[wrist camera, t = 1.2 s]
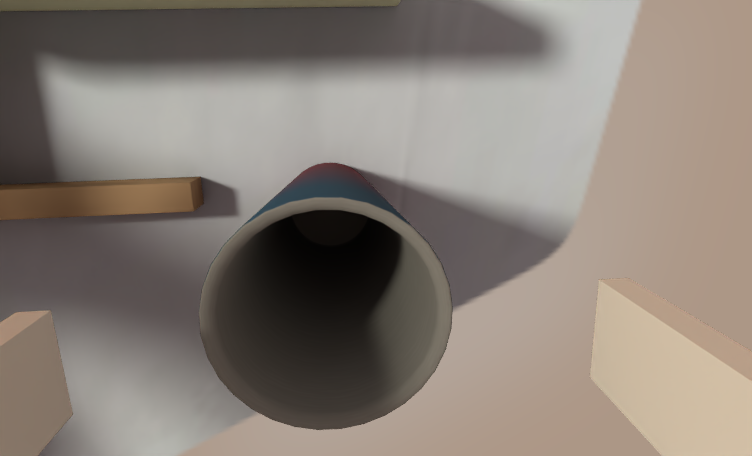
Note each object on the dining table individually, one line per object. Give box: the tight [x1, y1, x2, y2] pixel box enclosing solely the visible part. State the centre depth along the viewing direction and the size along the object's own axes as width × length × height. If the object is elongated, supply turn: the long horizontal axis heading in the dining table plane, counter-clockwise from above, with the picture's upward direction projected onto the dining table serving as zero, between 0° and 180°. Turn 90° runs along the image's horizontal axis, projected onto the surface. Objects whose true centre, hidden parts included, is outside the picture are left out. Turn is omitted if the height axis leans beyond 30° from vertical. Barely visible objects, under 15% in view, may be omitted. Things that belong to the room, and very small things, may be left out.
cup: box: [199, 163, 453, 430], centre depth 20 cm, size 7×7×15 cm
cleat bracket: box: [0, 177, 204, 220], centre depth 23 cm, size 13×10×5 cm
